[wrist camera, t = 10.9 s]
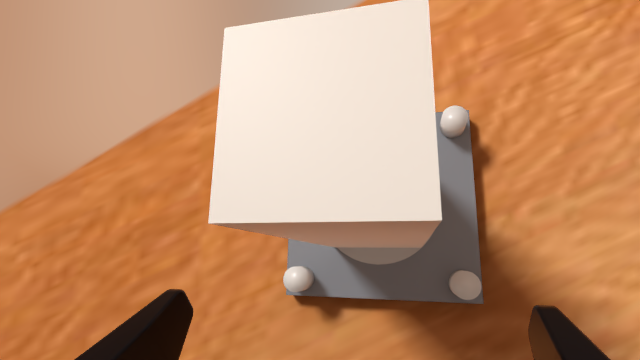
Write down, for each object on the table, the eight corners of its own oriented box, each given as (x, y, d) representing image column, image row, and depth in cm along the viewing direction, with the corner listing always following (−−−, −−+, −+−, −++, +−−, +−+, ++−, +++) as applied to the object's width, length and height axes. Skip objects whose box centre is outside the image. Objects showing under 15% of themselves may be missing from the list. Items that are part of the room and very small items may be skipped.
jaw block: (416, 162, 21) (428, -4, 8) (420, 247, 20) (441, 220, 7) (334, 166, 22) (224, 27, 9) (334, 247, 21) (208, 223, 8)
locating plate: (466, 116, 22) (473, 99, 20) (480, 302, 20) (489, 307, 17) (297, 128, 25) (285, 114, 22) (291, 293, 22) (277, 297, 20)
